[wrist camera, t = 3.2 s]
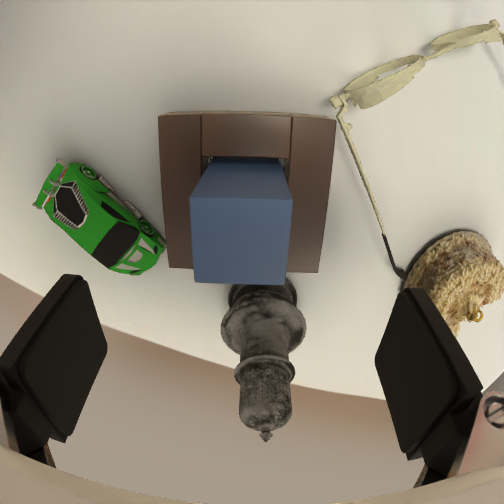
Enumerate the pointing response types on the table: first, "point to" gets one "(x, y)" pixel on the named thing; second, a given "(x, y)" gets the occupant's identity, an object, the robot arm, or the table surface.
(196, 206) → the peg
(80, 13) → the table surface
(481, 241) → the cake
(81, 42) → the table surface
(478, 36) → the gold eyeglasses
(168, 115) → the brown square frame
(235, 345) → the grey chess piece
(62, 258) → the table surface
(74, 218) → the toy car
